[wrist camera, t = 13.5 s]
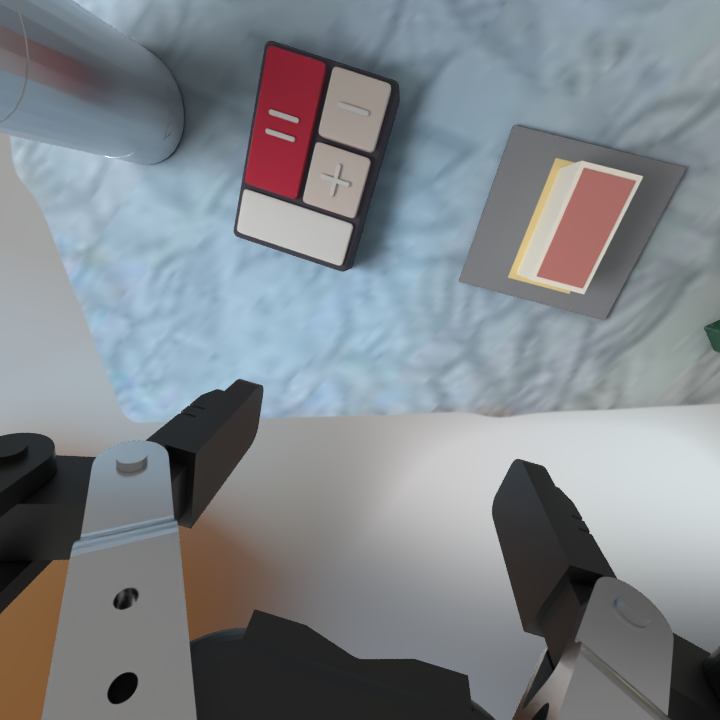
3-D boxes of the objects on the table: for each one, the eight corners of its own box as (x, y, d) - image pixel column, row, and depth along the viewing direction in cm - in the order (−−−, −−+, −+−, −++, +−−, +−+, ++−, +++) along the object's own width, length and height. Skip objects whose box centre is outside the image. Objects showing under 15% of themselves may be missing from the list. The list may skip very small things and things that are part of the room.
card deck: (560, 168, 29) (582, 160, 25) (613, 182, 29) (644, 176, 25) (516, 273, 32) (530, 280, 29) (564, 286, 32) (584, 294, 28)
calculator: (400, 77, 26) (344, 273, 31) (401, 99, 30) (351, 270, 35) (261, 32, 26) (228, 235, 31) (280, 60, 30) (248, 236, 35)
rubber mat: (458, 281, 34) (459, 281, 33) (512, 126, 29) (514, 124, 28) (601, 319, 33) (605, 320, 33) (681, 168, 28) (687, 167, 28)
